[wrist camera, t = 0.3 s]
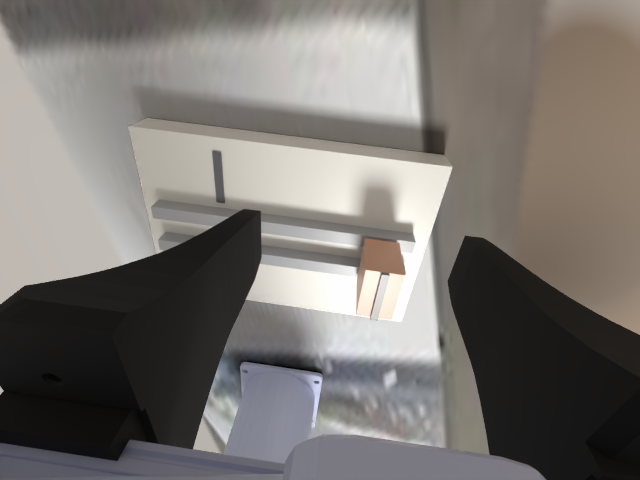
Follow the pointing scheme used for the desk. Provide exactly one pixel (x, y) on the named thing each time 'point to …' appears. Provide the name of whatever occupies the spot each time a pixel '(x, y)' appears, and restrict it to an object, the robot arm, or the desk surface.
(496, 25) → the desk surface
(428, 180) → the white slider track board
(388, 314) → the fader
